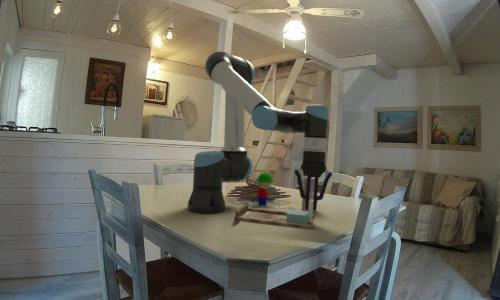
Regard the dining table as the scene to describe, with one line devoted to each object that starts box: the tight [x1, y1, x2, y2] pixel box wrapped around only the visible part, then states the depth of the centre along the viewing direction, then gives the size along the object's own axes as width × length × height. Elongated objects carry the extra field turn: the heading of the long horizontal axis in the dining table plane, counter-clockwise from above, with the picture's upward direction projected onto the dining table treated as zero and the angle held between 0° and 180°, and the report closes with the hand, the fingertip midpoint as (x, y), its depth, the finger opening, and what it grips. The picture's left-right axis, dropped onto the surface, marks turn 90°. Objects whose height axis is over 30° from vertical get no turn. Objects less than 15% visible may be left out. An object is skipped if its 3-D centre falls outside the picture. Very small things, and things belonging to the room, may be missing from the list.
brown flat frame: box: [233, 203, 315, 230], centre depth 104 cm, size 26×16×4 cm, turn 76°
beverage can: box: [301, 175, 318, 212], centre depth 122 cm, size 6×6×15 cm
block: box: [285, 209, 308, 225], centre depth 102 cm, size 7×7×3 cm
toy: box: [255, 171, 275, 207], centre depth 131 cm, size 8×8×15 cm
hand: (310, 219), depth 101 cm, fingers closed
